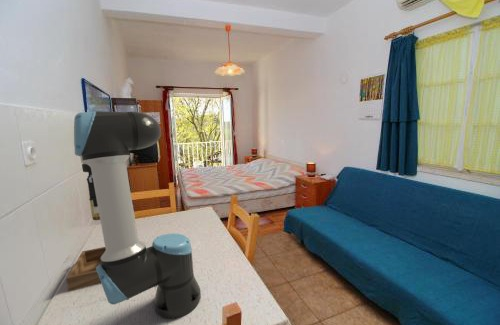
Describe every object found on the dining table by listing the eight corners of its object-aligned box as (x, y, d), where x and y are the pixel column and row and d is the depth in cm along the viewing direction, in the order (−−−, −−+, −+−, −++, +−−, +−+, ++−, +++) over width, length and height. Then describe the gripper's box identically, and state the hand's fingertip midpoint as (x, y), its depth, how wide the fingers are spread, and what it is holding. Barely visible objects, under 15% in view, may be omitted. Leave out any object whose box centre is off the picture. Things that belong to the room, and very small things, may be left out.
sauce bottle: (99, 221, 106) (92, 179, 103) (89, 220, 108) (82, 179, 105) (111, 216, 112) (105, 176, 109) (102, 214, 114) (95, 175, 111)
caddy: (135, 276, 93) (133, 262, 92) (69, 293, 85) (66, 278, 84) (138, 251, 111) (136, 240, 110) (84, 263, 103) (82, 251, 102)
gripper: (96, 164, 98) (104, 215, 102) (105, 159, 116) (112, 202, 120) (75, 166, 95) (84, 219, 99) (87, 160, 113) (95, 205, 117)
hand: (99, 210), depth 109 cm, fingers closed on sauce bottle, 6 cm apart
